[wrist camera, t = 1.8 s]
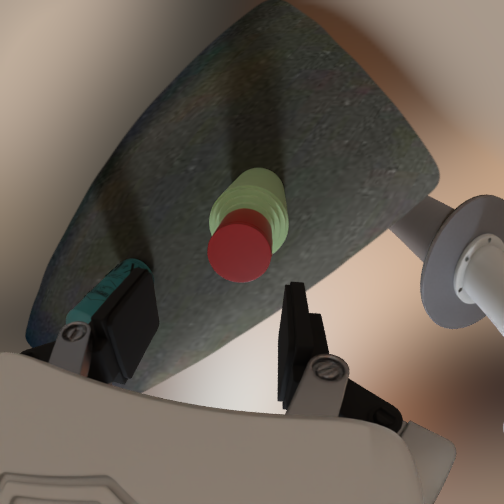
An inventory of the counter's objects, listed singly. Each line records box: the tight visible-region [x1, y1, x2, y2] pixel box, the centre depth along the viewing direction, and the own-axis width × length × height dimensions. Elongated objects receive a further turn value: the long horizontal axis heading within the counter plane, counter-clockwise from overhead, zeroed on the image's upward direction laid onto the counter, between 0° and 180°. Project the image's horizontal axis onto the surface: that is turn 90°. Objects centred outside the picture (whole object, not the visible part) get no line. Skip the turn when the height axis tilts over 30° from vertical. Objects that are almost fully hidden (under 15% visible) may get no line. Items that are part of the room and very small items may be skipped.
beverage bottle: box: [66, 259, 154, 325], centre depth 31 cm, size 6×7×20 cm
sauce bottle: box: [209, 168, 289, 254], centre depth 26 cm, size 6×6×18 cm
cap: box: [207, 208, 273, 282], centre depth 19 cm, size 4×4×4 cm
